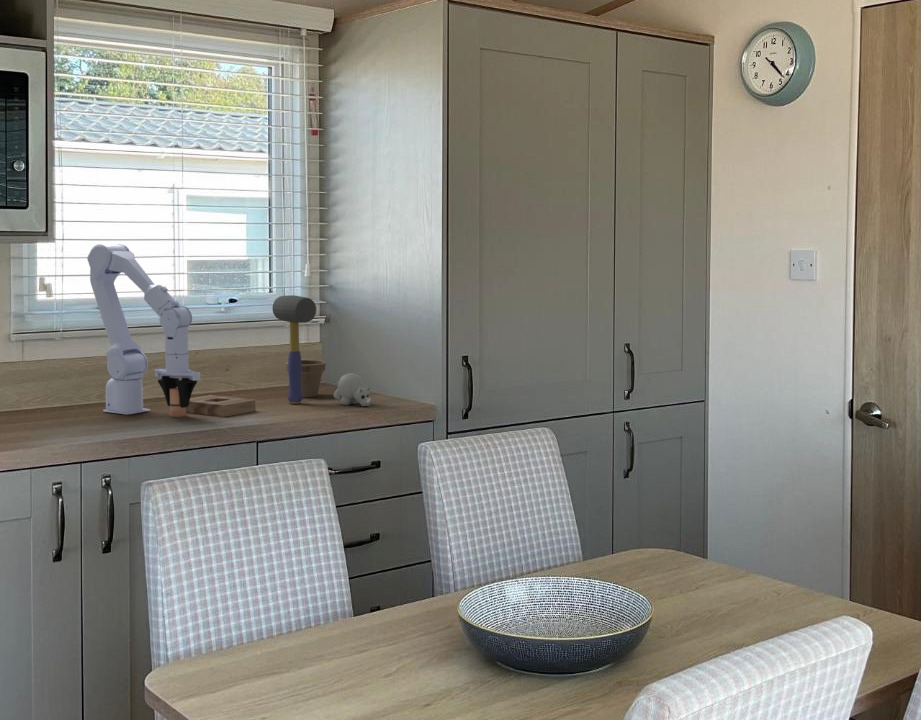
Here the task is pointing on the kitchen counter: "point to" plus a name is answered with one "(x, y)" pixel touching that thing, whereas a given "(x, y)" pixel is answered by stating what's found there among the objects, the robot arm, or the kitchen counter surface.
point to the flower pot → (310, 376)
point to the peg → (176, 404)
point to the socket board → (220, 405)
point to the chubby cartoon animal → (352, 390)
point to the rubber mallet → (294, 336)
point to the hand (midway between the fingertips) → (178, 406)
